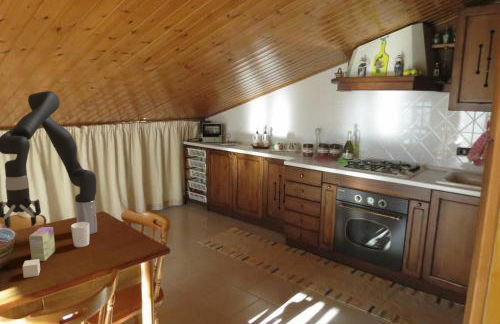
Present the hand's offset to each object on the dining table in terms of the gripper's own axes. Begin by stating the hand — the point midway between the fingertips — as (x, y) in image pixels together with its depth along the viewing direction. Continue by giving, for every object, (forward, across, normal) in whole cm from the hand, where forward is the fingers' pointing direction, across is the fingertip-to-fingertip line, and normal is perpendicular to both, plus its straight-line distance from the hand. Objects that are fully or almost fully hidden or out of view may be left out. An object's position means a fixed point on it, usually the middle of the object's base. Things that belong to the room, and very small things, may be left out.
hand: (21, 226), depth 144 cm
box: (+20, -4, -14) cm, 24 cm away
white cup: (+19, -18, -23) cm, 35 cm away
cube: (+20, -3, +3) cm, 20 cm away
